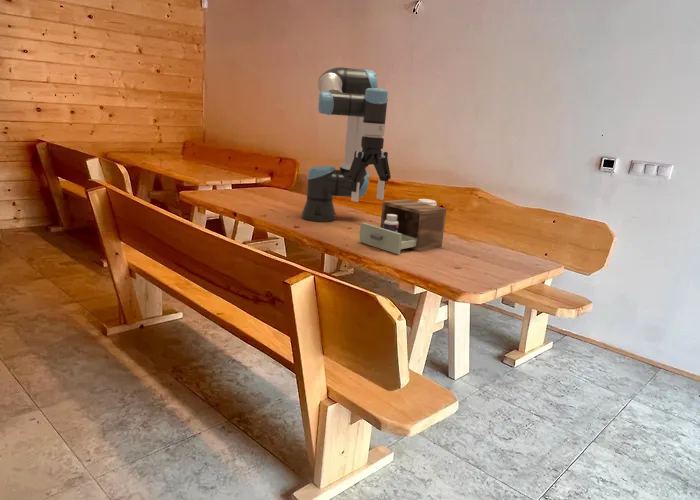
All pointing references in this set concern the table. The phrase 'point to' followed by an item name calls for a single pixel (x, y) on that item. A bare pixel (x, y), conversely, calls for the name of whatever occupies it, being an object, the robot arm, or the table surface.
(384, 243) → the drawer
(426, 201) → the coffee cup
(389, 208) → the housing
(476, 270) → the table surface
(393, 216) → the pill bottle
